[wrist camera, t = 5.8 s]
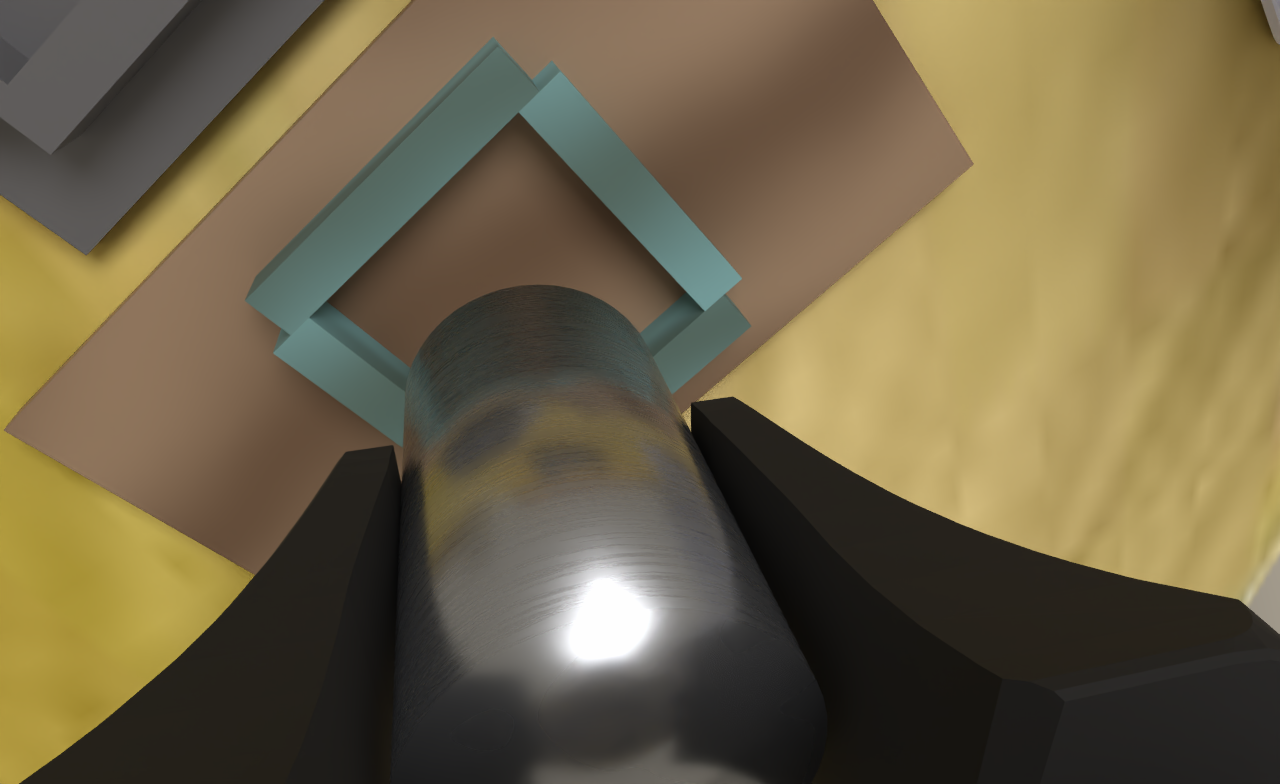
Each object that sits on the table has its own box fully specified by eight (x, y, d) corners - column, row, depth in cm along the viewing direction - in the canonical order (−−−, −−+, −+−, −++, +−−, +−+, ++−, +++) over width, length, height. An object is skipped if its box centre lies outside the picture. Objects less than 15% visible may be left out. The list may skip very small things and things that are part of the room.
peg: (691, 318, 14) (899, 638, 8) (612, 520, 15) (732, 914, 9) (438, 255, 12) (453, 584, 6) (380, 484, 14) (347, 917, 8)
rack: (954, 154, 19) (1005, 179, 18) (397, 634, 23) (395, 693, 21) (680, -281, 15) (714, -306, 13) (19, 410, 18) (-24, 464, 16)
